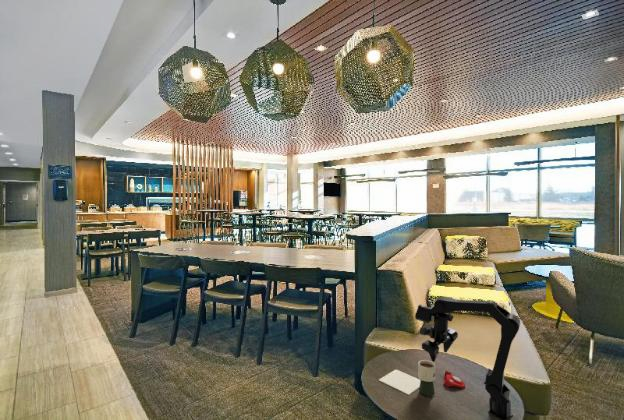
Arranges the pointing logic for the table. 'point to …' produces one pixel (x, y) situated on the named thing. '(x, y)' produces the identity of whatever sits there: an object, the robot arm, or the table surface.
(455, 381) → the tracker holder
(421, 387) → the character mug
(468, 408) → the table surface
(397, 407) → the table surface
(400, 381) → the oatmeal mat
